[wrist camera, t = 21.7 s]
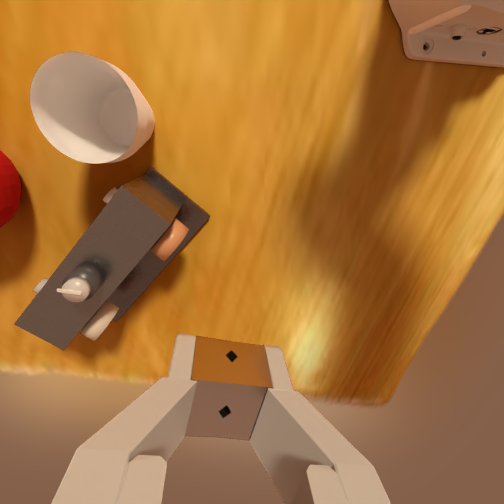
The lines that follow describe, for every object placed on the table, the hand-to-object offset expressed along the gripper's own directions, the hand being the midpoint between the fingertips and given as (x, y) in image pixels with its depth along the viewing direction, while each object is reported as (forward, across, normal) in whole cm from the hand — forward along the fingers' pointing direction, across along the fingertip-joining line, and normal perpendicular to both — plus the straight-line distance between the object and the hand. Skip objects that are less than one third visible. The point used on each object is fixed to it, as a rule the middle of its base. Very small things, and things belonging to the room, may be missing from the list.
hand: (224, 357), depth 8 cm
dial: (+23, +12, +12) cm, 29 cm away
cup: (+34, +13, -5) cm, 37 cm away
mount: (+34, +11, +13) cm, 38 cm away
